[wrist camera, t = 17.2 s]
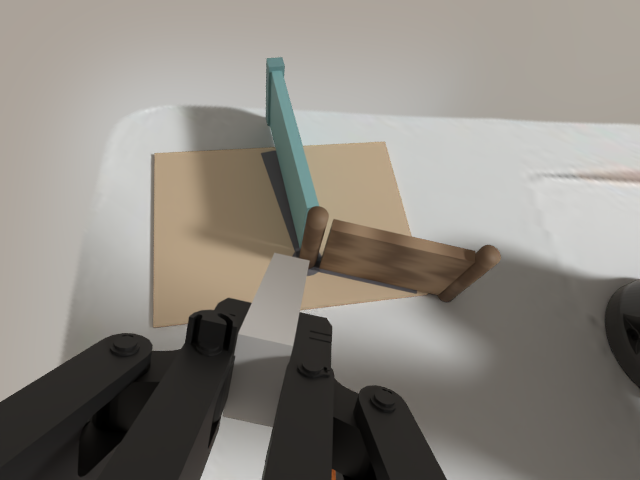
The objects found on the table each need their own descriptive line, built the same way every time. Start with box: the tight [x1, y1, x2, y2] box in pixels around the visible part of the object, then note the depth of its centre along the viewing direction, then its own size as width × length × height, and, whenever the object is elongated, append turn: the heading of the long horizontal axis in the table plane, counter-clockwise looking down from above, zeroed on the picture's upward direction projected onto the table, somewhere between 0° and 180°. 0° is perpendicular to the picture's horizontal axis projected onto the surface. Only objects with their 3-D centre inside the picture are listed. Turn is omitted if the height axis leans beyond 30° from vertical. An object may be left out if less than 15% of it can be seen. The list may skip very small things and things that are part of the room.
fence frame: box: [299, 206, 501, 302], centre depth 44 cm, size 18×2×11 cm, turn 79°
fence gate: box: [266, 57, 319, 248], centre depth 48 cm, size 20×2×10 cm, turn 14°
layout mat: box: [153, 142, 428, 328], centre depth 51 cm, size 30×22×1 cm
